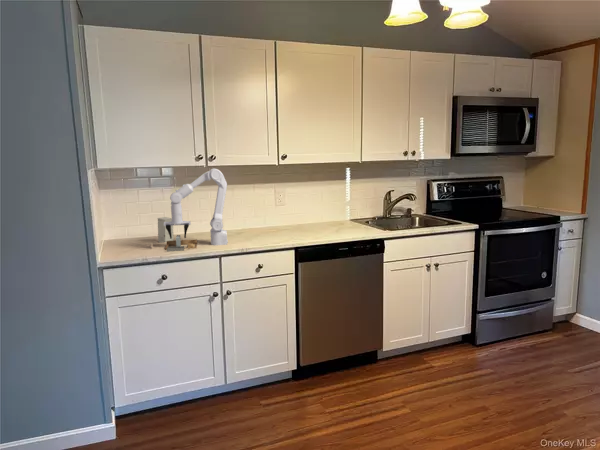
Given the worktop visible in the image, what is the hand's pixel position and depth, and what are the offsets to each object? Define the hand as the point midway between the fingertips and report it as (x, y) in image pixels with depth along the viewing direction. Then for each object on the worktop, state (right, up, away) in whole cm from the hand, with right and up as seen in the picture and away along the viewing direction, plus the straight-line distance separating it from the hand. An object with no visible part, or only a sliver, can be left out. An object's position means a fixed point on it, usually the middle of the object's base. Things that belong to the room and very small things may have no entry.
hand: (178, 238), depth 253 cm
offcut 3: (+7, -7, 0) cm, 10 cm away
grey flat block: (0, -6, +1) cm, 6 cm away
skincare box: (-12, -3, +19) cm, 23 cm away
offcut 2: (+6, -6, +5) cm, 10 cm away
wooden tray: (+2, -6, +1) cm, 6 cm away
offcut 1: (+7, -5, 0) cm, 9 cm away
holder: (+1, -7, -7) cm, 11 cm away
